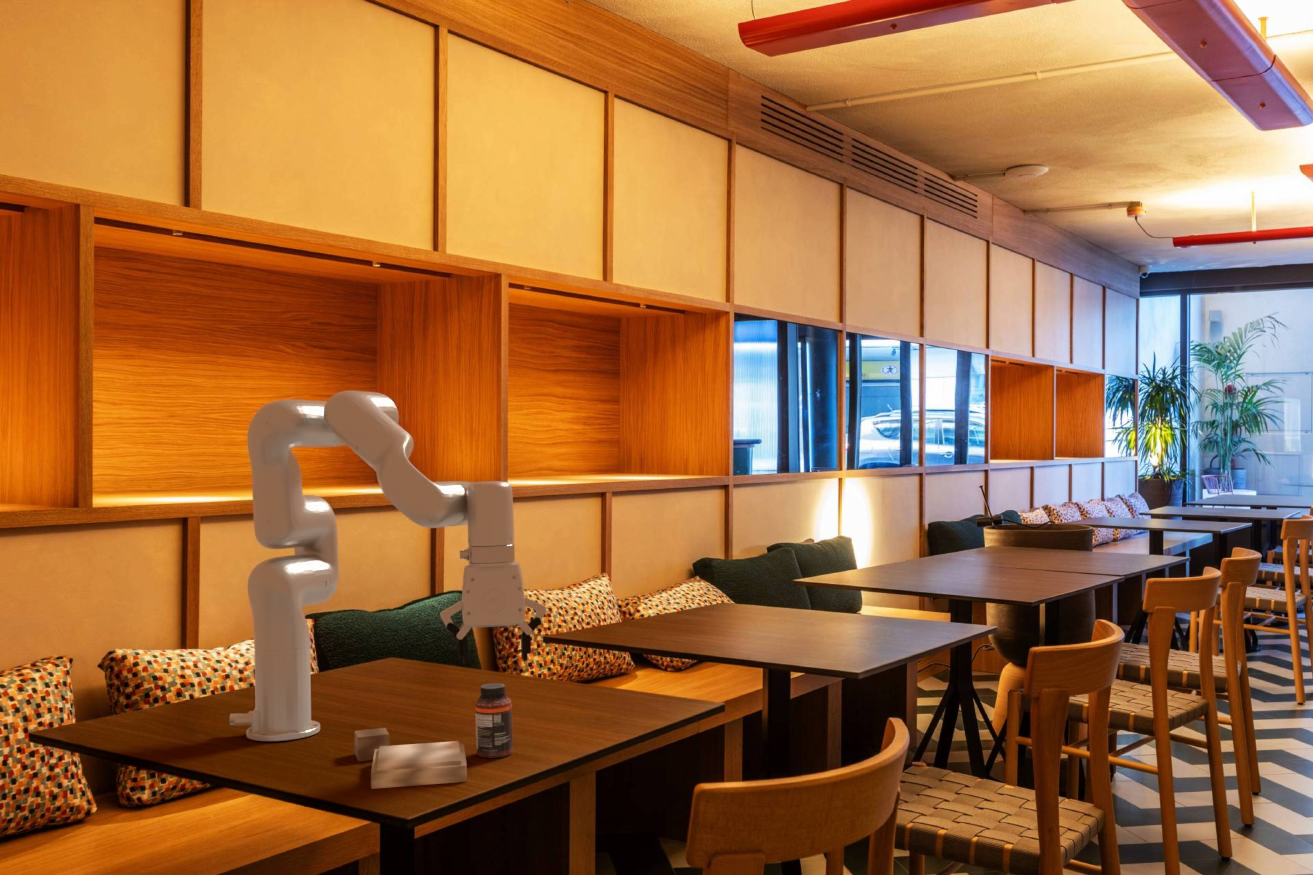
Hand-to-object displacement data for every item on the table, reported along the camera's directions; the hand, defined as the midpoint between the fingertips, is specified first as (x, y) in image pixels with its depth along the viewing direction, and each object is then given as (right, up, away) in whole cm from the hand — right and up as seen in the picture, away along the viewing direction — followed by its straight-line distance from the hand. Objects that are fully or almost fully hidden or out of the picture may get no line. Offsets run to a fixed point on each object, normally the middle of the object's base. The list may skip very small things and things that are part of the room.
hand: (495, 660), depth 187 cm
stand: (-10, -15, -10) cm, 21 cm away
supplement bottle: (0, -16, 0) cm, 16 cm away
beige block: (-20, -16, +1) cm, 26 cm away
